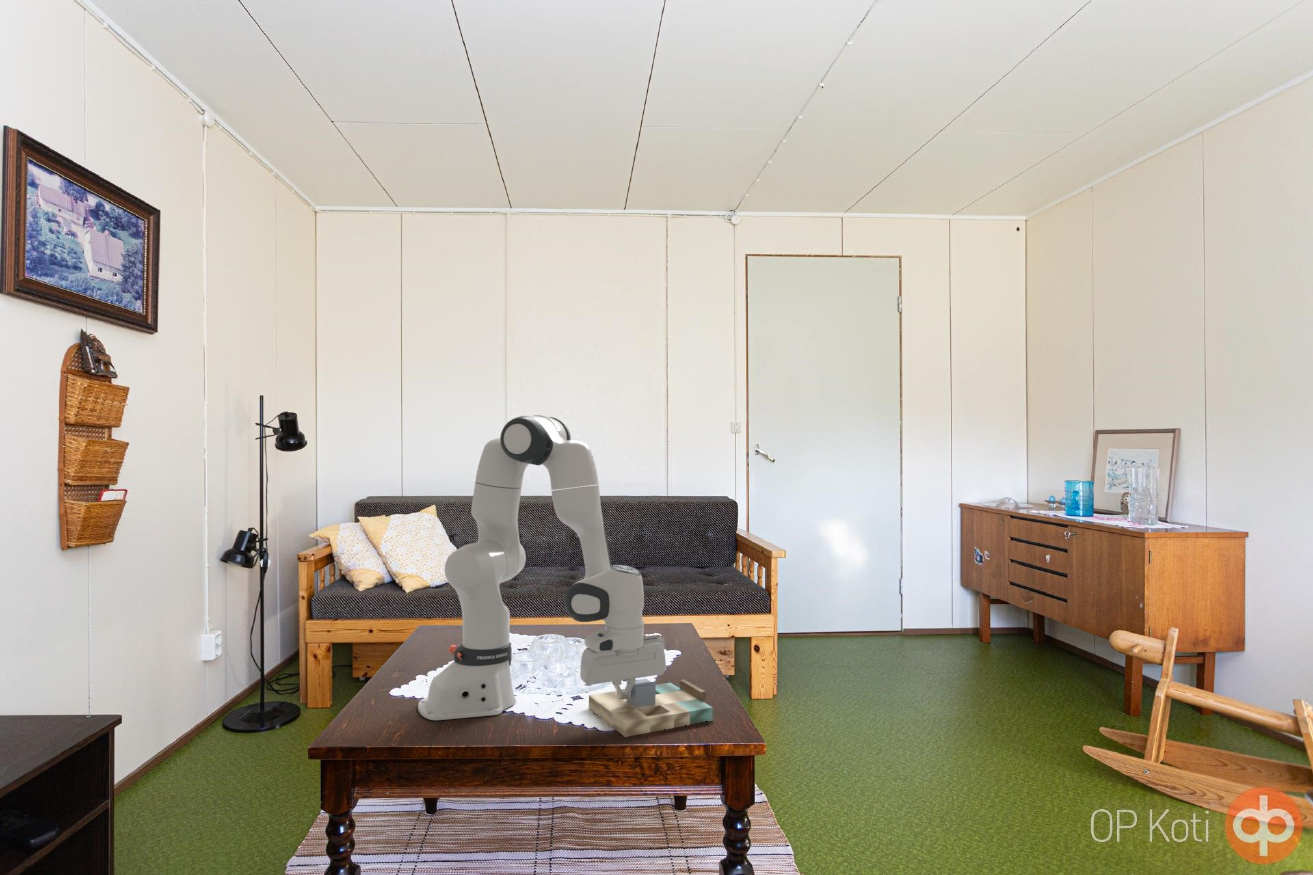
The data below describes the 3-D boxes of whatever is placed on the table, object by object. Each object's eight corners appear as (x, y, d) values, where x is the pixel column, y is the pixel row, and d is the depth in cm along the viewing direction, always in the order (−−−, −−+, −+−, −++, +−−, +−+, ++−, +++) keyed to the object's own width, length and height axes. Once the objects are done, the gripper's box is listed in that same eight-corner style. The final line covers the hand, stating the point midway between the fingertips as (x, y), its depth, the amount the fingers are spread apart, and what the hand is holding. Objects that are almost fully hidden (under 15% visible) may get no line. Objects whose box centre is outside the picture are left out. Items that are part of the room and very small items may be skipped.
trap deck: (624, 736, 161) (625, 713, 161) (588, 707, 179) (588, 686, 179) (716, 719, 172) (717, 697, 172) (674, 693, 190) (674, 673, 190)
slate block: (635, 707, 171) (635, 687, 171) (626, 700, 175) (626, 681, 175) (655, 704, 173) (655, 684, 173) (645, 697, 178) (645, 678, 178)
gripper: (658, 629, 180) (657, 687, 180) (577, 638, 170) (577, 700, 170) (671, 635, 174) (670, 695, 174) (588, 645, 165) (587, 709, 165)
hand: (623, 698), depth 172 cm, fingers closed
